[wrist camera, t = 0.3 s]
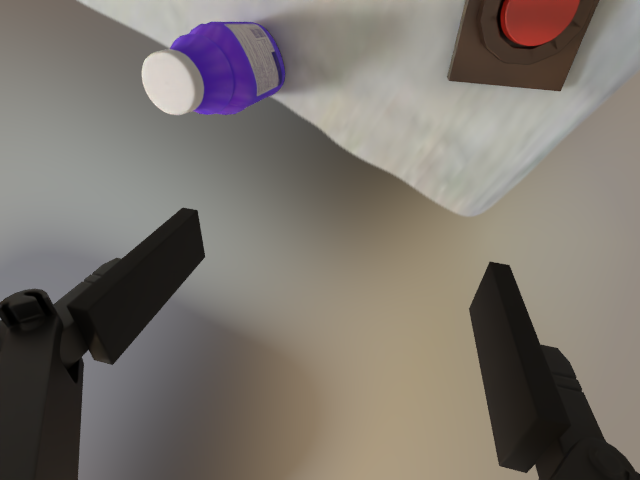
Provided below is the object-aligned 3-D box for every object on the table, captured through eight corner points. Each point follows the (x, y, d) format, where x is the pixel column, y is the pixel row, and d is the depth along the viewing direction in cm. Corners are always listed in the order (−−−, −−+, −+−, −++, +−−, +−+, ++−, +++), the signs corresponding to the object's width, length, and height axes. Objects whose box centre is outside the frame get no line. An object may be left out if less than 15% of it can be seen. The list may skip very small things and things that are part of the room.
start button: (513, -33, 26) (519, -36, 25) (583, -30, 25) (594, -33, 24) (491, 42, 29) (495, 43, 27) (554, 46, 28) (562, 48, 27)
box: (486, -84, 28) (496, -97, 24) (622, -81, 26) (652, -95, 23) (447, 77, 34) (450, 84, 31) (553, 87, 33) (568, 95, 29)
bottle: (223, 36, 37) (106, 49, 23) (266, 11, 35) (166, 8, 20) (255, 102, 40) (169, 149, 26) (296, 83, 38) (227, 123, 24)
